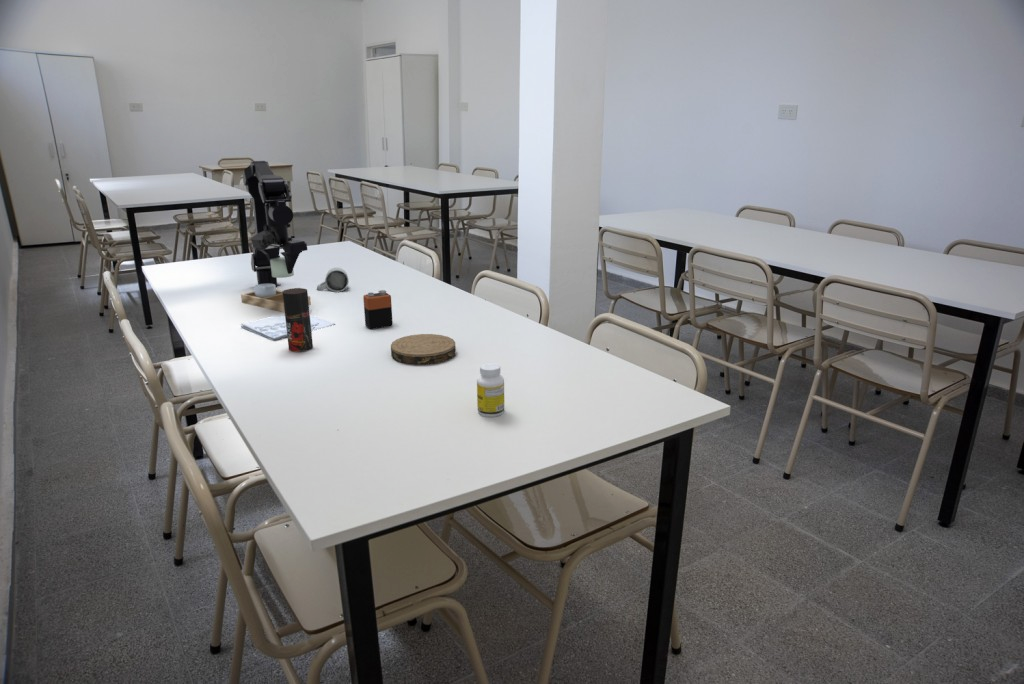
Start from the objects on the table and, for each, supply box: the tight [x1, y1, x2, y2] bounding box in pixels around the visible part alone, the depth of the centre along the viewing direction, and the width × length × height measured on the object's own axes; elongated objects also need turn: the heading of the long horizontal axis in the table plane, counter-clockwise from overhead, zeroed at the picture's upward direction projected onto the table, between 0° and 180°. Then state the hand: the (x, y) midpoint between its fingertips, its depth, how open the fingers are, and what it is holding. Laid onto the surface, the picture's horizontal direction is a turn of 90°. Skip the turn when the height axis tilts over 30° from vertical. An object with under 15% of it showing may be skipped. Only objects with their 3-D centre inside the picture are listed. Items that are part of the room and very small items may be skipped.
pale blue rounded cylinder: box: [253, 283, 277, 298], centre depth 211 cm, size 6×6×5 cm
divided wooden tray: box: [240, 289, 312, 313], centre depth 209 cm, size 20×10×3 cm, turn 56°
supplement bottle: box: [476, 362, 505, 418], centre depth 131 cm, size 5×5×10 cm
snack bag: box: [240, 314, 336, 341], centre depth 188 cm, size 19×20×2 cm
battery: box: [362, 289, 394, 330], centre depth 186 cm, size 4×7×10 cm, turn 121°
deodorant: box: [282, 287, 314, 353], centre depth 167 cm, size 6×6×15 cm
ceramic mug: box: [316, 267, 349, 293], centre depth 227 cm, size 11×8×8 cm
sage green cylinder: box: [270, 256, 295, 279], centre depth 203 cm, size 6×6×5 cm
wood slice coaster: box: [390, 333, 457, 366], centre depth 165 cm, size 16×16×3 cm
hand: (282, 272), depth 203 cm, fingers closed on sage green cylinder, 6 cm apart
